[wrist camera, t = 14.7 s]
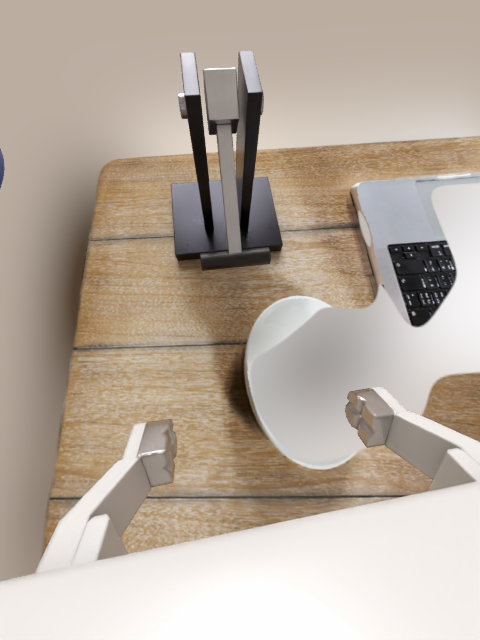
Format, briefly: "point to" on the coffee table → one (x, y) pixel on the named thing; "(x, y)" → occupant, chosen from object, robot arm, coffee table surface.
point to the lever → (227, 168)
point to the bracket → (206, 196)
